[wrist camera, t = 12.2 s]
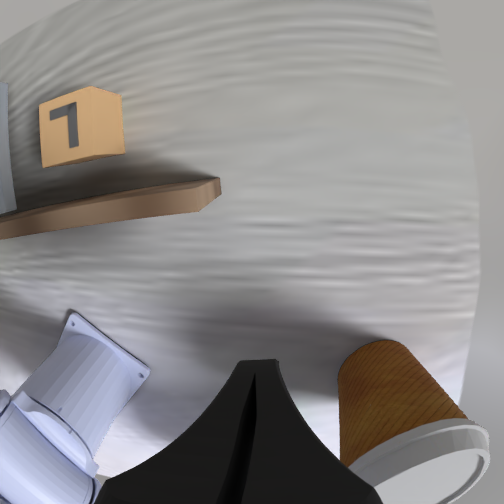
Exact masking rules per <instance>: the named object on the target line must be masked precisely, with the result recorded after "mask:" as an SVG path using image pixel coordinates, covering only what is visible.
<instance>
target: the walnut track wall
mask: <svg viewBox="0 0 504 504" xmlns="http://www.w3.org/2000/svg"><path fill="white" fill-rule="evenodd" d="M219 195H221V186H220V178H213V179H205V180H197V181H189V182H181V183H174V184H167V185H160V186H153V187H147V188H140V189H134V190H128V191H122V192H116V193H111V194H105V195H100V196H94V197H89V198H84V199H79V200H74V201H69V202H64V203H59V204H54V205H50V206H45V207H41V208H37V209H32V210H28V211H24V212H20V213H15V214H11V215H7V216H4V217H0V240H2V239H8V238H13V237H19V236H25V235H31V234H37V233H43V232H49V231H55V230H61V229H68V228H74V227H81V226H88V225H95V224H102V223H109V222H116V221H124V220H132V219H139V218H147V217H156V216H164V215H173V214H182V213H191V212H199V211H200V210H201V209H202V208H204V207H205V206H206V205H208V204H209V203H210V202H212V201H213V200H214V199H215V198H217V197H218V196H219Z"/></svg>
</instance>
